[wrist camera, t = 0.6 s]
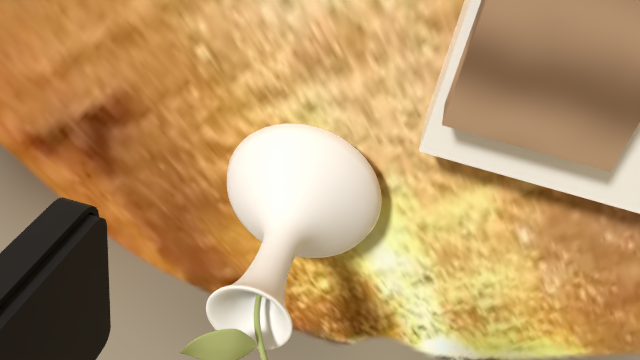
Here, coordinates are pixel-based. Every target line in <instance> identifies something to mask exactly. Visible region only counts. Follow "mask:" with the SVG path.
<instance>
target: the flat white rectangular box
mask: <svg viewBox="0 0 640 360" xmlns="http://www.w3.org/2000/svg"><path fill="white" fill-rule="evenodd" d="M480 3H481V0H465V1H464V4H463V7H462V10H461V13H460V16H459V19H458V22H457V25H456V28H455V31H454V34H453V37H452V39H451V42H450V45H449V48H448V51H447V54H446V57H445V60H444V63H443V66H442V69H441V72H440V75H439V78H438V81H437V84H436V87H435V90H434V93H433V96H432V99H431V102H430V105H429V108H428V111H427V114H426V117H425V120H424V125H423V131H422V136H421V142H420V148H419V152H423V153H426V154H430V155H433V156H437V157H441V158H444V159H448V160H451V161H455V162H458V163H462V164H465V165H469V166H472V167H476V168H480V169H483V170H487V171H490V172H494V173H497V174H501V175H504V176H508V177H511V178H515V179H519V180H522V181H526V182H529V183H533V184H536V185H540V186H543V187H547V188H550V189H554V190H557V191H561V192H565V193H568V194H572V195H575V196H579V197H582V198H586V199H589V200H593V201H596V202H600V203H604V204H607V205H611V206H614V207H618V208H621V209H625V210H628V211H632V212H635V213H639V214H640V123H639V125H638V126H637V128H636V130H635V131H634V133H633V135H632V136H631V138H630V140H629V141H628V143H627V145H626V146H625V148H624V150H623V151H622V153H621V155H620V156H619V158H618V160H617V161H616V163H615V165H614V166H613V168H612V170H611V171H610V172H608V171H605V170H601V169H597V168H594V167H590V166H587V165H583V164H579V163H576V162H572V161H569V160H565V159H561V158H558V157H554V156H551V155H547V154H543V153H540V152H536V151H533V150H529V149H526V148H522V147H518V146H515V145H511V144H508V143H504V142H500V141H497V140H493V139H490V138H486V137H482V136H479V135H475V134H472V133H468V132H464V131H461V130H457V129H454V128H450V127H446V126H443V125H442V120H443V113H444V105H445V101H446V98H447V96H448V93H449V90H450V87H451V84H452V82H453V79H454V76H455V73H456V70H457V67H458V65H459V62H460V59H461V56H462V53H463V50H464V48H465V45H466V42H467V39H468V36H469V34H470V31H471V28H472V25H473V22H474V19H475V17H476V14H477V11H478V8H479V5H480Z"/></svg>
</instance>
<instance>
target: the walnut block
mask: <svg viewBox="0 0 640 360" xmlns="http://www.w3.org/2000/svg"><path fill="white" fill-rule="evenodd" d="M639 123H640V0H481V3H480V5H479V8H478V11H477V14H476V17H475V19H474V22H473V25H472V28H471V31H470V34H469V36H468V39H467V42H466V45H465V48H464V50H463V53H462V56H461V59H460V62H459V65H458V67H457V70H456V73H455V76H454V79H453V82H452V84H451V87H450V90H449V93H448V96H447V98H446V101H445V105H444V113H443V120H442V125H443V126H446V127H450V128H454V129H457V130H461V131H464V132H468V133H472V134H475V135H479V136H482V137H486V138H490V139H493V140H497V141H500V142H504V143H508V144H511V145H515V146H518V147H522V148H526V149H529V150H533V151H536V152H540V153H543V154H547V155H551V156H554V157H558V158H561V159H565V160H569V161H572V162H576V163H579V164H583V165H587V166H590V167H594V168H597V169H601V170H605V171H608V172H610V171H611V170H612V168H613V166H614V165H615V163H616V161H617V160H618V158H619V156H620V155H621V153H622V151H623V150H624V148H625V146H626V145H627V143H628V141H629V140H630V138H631V136H632V135H633V133H634V131H635V130H636V128H637V126H638V125H639Z"/></svg>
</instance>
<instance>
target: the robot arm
mask: <svg viewBox="0 0 640 360" xmlns="http://www.w3.org/2000/svg"><path fill="white" fill-rule="evenodd" d="M107 245H108V244H107V224H106V220H105V219H104V218H100V217H99V213H98V210H97V208H96V207H94V206H91V205H87V204H84V203H80V202H77V201H73V200H69V199H66V198H59V199H57V200H56V201H54V202H53V203H52V204H51V205H50V206H49V207H48V208H47V209H46V210H45V211H44V212H43V213H42V214H41V215H40V216H39V217H37V219H35V220H34V221H33V222H32V223H31V224H30V225H29V226H28V227H27V228H26V229H25V230H24V231H23V232H22V233H21V234H20V235H19V236H18V237H17V238H16V239H15V240H13V241H12V243H10V244H9V245H8V246H7V247H6V248H5V249H4V250H3V251H2V252H1V253H0V360H96V358H97V357H98V355H99V354H100V352H101V351H102V349H103V348H104V346H105V344H106V342H107V340H108V337H109V333H110V299H109V273H108V246H107Z"/></svg>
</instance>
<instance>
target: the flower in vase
mask: <svg viewBox="0 0 640 360" xmlns="http://www.w3.org/2000/svg"><path fill="white" fill-rule="evenodd" d="M227 190H228V196H229V200H230V203H231V205H232V208H233V210H234V212H235V213H236V215H237V217H238V218H239V220H240V221H241V222H242V224H243V225H244V226H245V227H246V228H247V229H248V230H249V231H250V232H251V233H252V234H253V235H254V236H255V237H256V238H257V239H258V240H260V241H261V242H262V244H261V247H260V249H259V251H258V253H257V255H256V257H255V259H254V261H253V262H252V264H251V265H250V267H249V268H248V270H247V271H246V272H245V273H244V275H243V276H242V277H241V278H240V279H239V280H238V281H237V282H235V283H234V284H232V285H229V286H226V287H222V288H220V289H218V290H217V291H215V292H214V293H213V294H212V295H211V296H210V297H209V298H208V301H207V304H206V313H207V316H208V319H209V321H210V322H211V324H212V326H213V327H214V328H215V329H216V331H213V332H210V333H207V334H205V335H202V336H200V337H198V338H197V339H195V340H193V341H192V342H191V343H189V344H188V345H187V346H186V347H184V348H183V349H182V350H181V351H180V353H182V354H186V355H189V356H192V357H195V358H197V359H200V360H238V359H240V358H242V357H244V356H245V355H247V354H249V353H250V352H251V351H252V350H254V349H256V350H259V353H260V357H261V360H268V359H267V355H266V351H265V350H270V349H274V348H277V347H280V346H282V345H283V344H285V343H286V342H287V341H288V340H289V338H290V336H291V334H292V321H291V317H290V315H289V313H288V311H287V309H286V307H285V301H284V295H285V286H286V282H287V277H288V273H289V270H290V267H291V264H292V262H293V260H294V258H295V256H296V257H304V258H324V257H330V256H335V255H338V254H341V253H344V252H346V251H348V250H350V249H352V248H353V247H355V246H356V245H358V244H359V243H360V242H361V241H362V240H363V239H365V238H366V237H367V235H368V234H369V233H370V232H371V231H372V230H373V228H374V227H375V225H376V223H377V221H378V218H379V216H380V212H381V206H382V195H381V189H380V185H379V181H378V179H377V176H376V174H375V172H374V170H373V169H372V167H371V165H370V164H369V162H368V161H367V160H366V159H365V157H364V156H363V155H362V154H361V153H360V152H359V151H358V150H357V149H356V148H355V147H353V146H352V145H351V144H350V143H348V142H347V141H346V140H344V139H342V138H341V137H339V136H338V135H336V134H334V133H331V132H329V131H327V130H324V129H321V128H318V127H314V126H310V125H304V124H278V125H272V126H269V127H265V128H263V129H260V130H258V131H256V132H254V133H252V134H251V135H249V136H248V137H247V138H245V139H244V140H243V141H242V142H241V143H240V144H239V145H238V147H237V148H236V149H235V151H234V153H233V154H232V156H231V159H230V161H229V165H228V170H227Z"/></svg>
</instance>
